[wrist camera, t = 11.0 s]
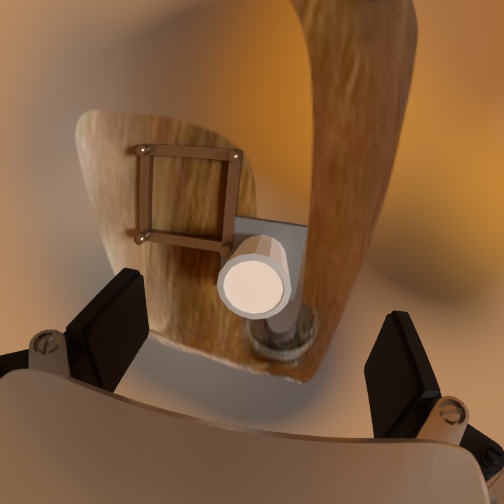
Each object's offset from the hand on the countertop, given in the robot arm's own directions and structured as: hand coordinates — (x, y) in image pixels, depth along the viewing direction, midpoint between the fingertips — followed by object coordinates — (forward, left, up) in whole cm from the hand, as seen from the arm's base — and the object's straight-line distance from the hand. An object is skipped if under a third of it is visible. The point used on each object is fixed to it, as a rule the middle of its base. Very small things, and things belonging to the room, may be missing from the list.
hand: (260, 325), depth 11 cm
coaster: (+7, -1, -23) cm, 24 cm away
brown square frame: (+1, -10, -23) cm, 25 cm away
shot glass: (+7, -1, -22) cm, 23 cm away
